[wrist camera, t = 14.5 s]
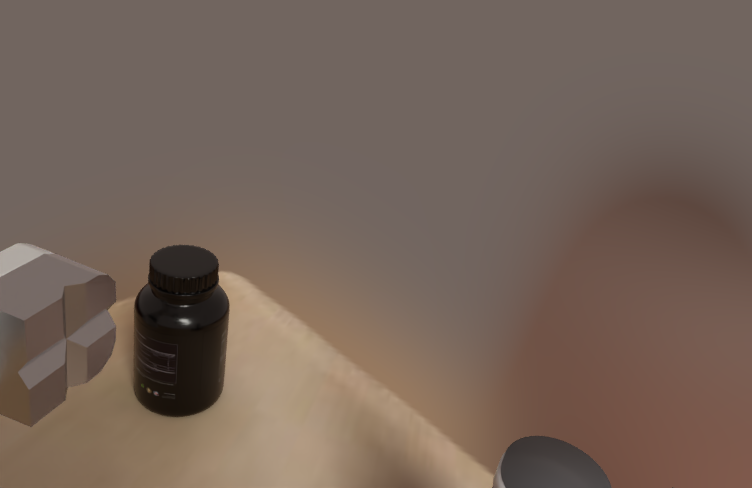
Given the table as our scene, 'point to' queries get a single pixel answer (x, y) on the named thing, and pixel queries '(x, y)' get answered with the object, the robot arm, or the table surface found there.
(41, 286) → the robot arm
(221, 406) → the table surface
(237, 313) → the table surface
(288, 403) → the table surface
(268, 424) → the table surface
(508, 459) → the lens
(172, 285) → the supplement bottle
